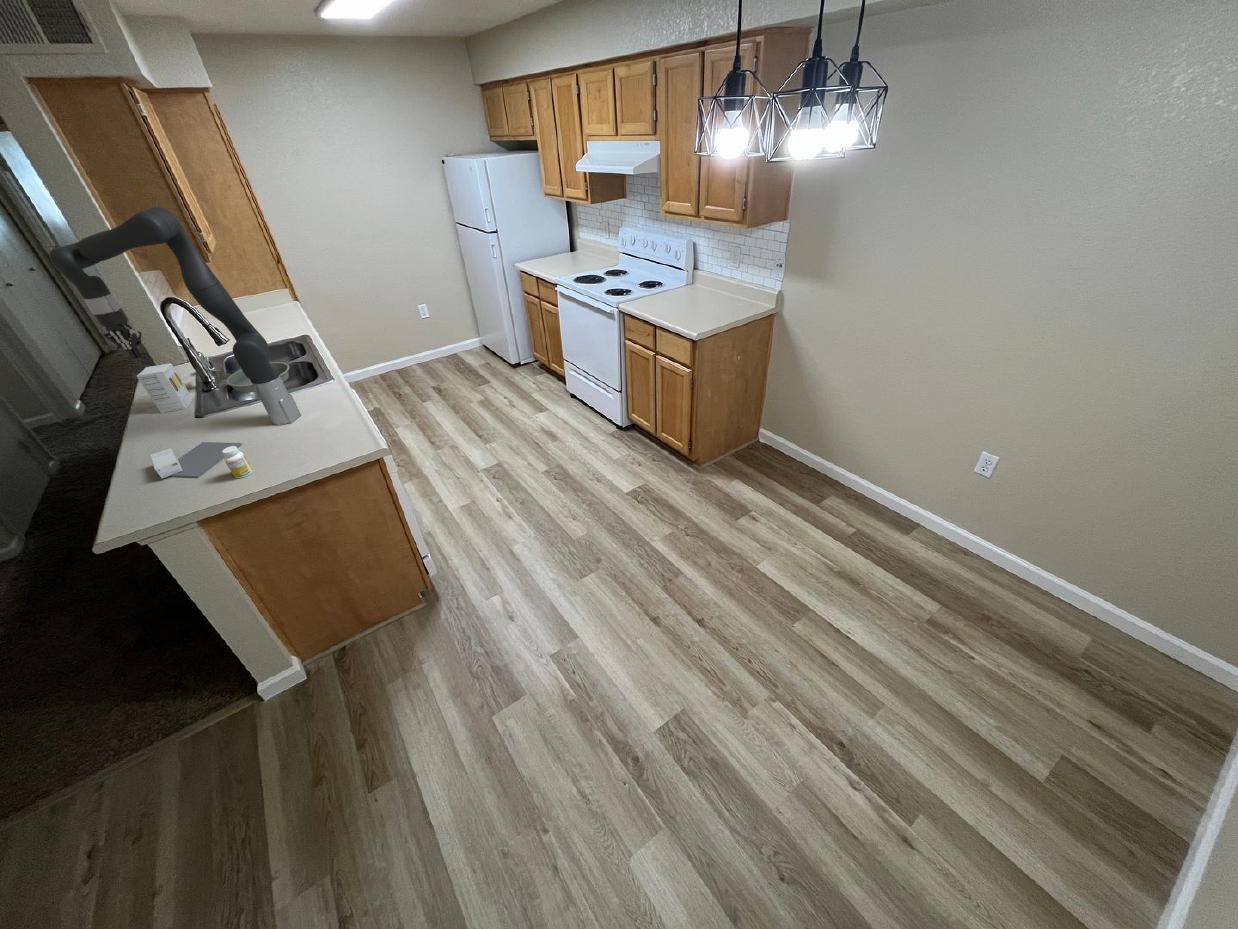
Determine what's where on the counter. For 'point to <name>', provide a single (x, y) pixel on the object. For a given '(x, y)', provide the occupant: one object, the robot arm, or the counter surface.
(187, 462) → the rubber mat
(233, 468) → the supplement bottle
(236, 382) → the cake pan
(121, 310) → the robot arm
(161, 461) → the skincare box
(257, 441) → the counter surface
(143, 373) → the supplement box
